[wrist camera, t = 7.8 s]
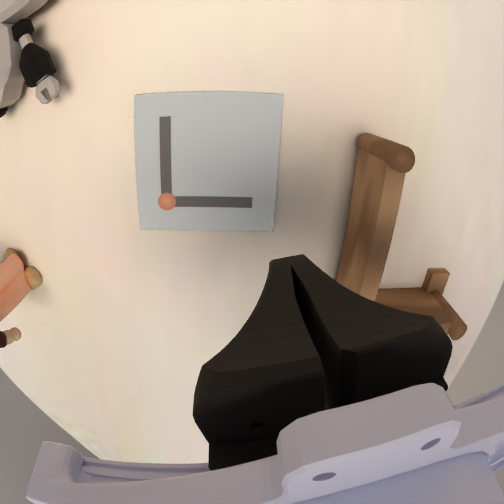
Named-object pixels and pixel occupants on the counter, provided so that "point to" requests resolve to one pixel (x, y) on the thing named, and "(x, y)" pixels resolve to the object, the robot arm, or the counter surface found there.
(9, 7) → the robot toy
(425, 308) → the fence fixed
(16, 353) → the counter surface
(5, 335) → the grandmother figurine
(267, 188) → the card
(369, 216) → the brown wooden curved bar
